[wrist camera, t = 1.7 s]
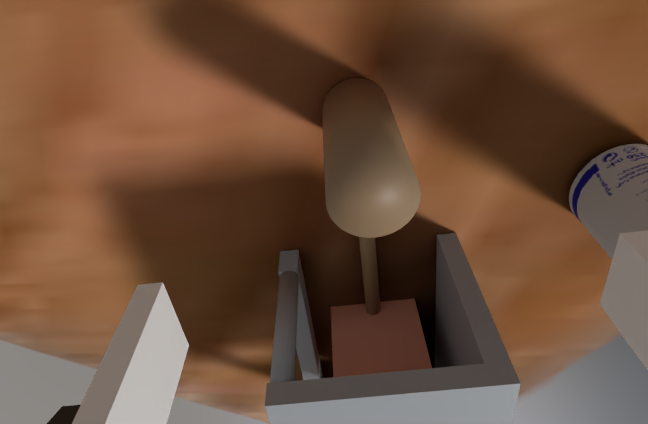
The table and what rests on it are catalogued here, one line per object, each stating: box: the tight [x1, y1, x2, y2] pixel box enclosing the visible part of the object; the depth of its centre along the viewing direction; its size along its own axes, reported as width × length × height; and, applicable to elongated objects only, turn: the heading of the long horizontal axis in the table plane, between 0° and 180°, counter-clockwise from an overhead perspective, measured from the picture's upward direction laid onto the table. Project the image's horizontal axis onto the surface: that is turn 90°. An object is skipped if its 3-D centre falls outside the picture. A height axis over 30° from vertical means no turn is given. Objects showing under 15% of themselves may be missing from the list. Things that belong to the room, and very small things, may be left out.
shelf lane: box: [265, 233, 520, 424], centre depth 29 cm, size 15×11×11 cm
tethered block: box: [322, 78, 432, 377], centre depth 26 cm, size 22×6×9 cm, turn 7°
